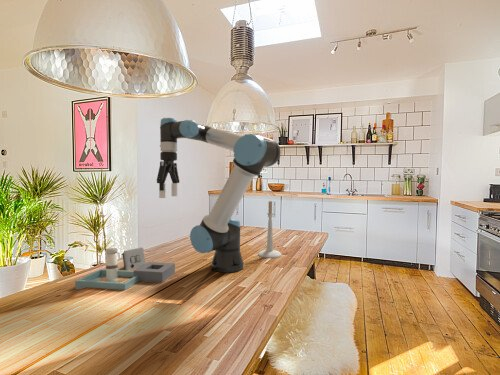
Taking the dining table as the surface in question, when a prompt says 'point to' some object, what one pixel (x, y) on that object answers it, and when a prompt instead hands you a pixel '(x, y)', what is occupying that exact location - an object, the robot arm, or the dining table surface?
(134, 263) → the electrical switch
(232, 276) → the dining table surface
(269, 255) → the candlestick
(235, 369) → the dining table surface
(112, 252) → the cylinder
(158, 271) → the fuse holder
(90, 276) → the parts tray
